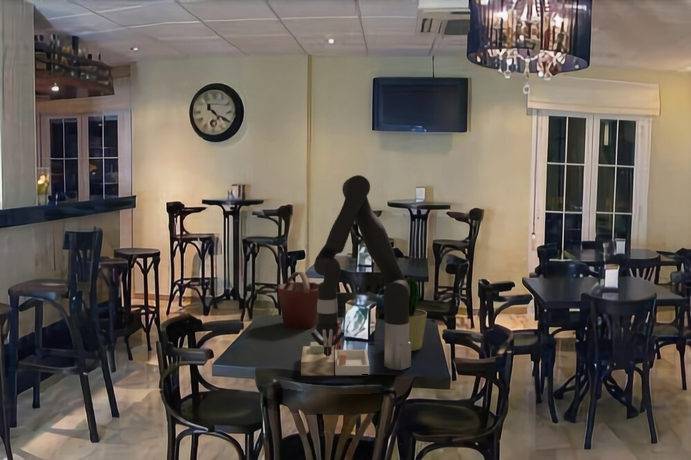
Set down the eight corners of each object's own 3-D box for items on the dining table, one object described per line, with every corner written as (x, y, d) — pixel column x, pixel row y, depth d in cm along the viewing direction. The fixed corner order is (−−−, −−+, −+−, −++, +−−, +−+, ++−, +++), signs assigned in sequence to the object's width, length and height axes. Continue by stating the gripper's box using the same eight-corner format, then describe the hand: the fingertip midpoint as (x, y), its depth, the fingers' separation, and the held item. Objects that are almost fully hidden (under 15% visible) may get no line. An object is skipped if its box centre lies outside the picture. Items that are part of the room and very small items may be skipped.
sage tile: (325, 348, 250) (325, 341, 250) (325, 352, 244) (325, 346, 244) (310, 348, 250) (310, 341, 249) (310, 352, 244) (310, 346, 243)
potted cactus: (398, 339, 280) (399, 272, 277) (431, 344, 272) (432, 275, 269) (383, 348, 266) (384, 277, 263) (418, 354, 259) (419, 281, 256)
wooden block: (333, 358, 253) (333, 346, 252) (333, 375, 233) (333, 361, 233) (303, 358, 253) (303, 346, 252) (301, 375, 233) (300, 362, 232)
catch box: (366, 358, 253) (366, 349, 253) (369, 375, 233) (369, 365, 233) (334, 358, 253) (334, 349, 253) (335, 375, 233) (335, 365, 233)
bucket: (278, 318, 317) (277, 268, 314) (322, 317, 319) (322, 268, 317) (278, 331, 293) (278, 278, 290) (326, 330, 295) (326, 277, 292)
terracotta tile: (338, 365, 242) (344, 366, 242) (338, 370, 236) (345, 371, 236) (339, 350, 241) (346, 350, 241) (339, 355, 235) (346, 355, 235)
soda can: (339, 352, 261) (339, 323, 260) (322, 351, 263) (322, 322, 261) (343, 347, 268) (343, 319, 267) (326, 346, 270) (326, 318, 268)
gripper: (345, 307, 240) (345, 352, 242) (309, 308, 240) (310, 353, 241) (345, 312, 232) (345, 358, 234) (309, 312, 232) (309, 359, 234)
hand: (327, 355), depth 238 cm, fingers closed
